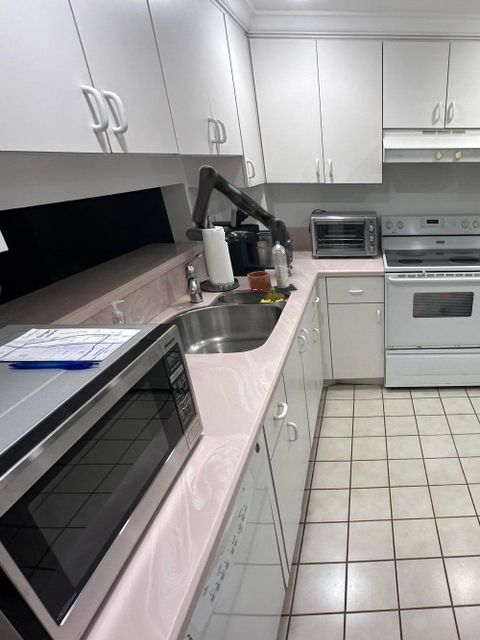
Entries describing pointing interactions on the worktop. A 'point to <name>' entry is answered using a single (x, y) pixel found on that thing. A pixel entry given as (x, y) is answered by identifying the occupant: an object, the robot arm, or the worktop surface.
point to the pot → (259, 281)
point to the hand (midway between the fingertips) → (249, 236)
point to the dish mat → (285, 289)
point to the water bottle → (280, 267)
